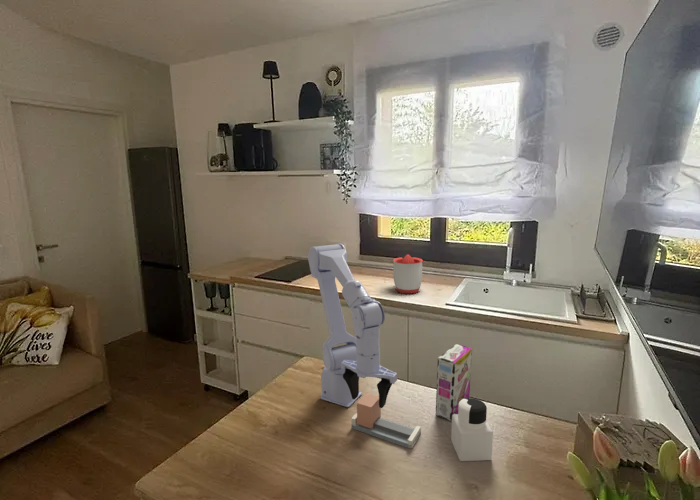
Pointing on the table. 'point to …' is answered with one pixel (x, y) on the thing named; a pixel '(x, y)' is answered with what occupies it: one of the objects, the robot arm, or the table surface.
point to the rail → (390, 431)
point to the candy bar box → (453, 380)
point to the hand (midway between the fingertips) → (368, 401)
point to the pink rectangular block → (368, 410)
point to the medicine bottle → (472, 431)
